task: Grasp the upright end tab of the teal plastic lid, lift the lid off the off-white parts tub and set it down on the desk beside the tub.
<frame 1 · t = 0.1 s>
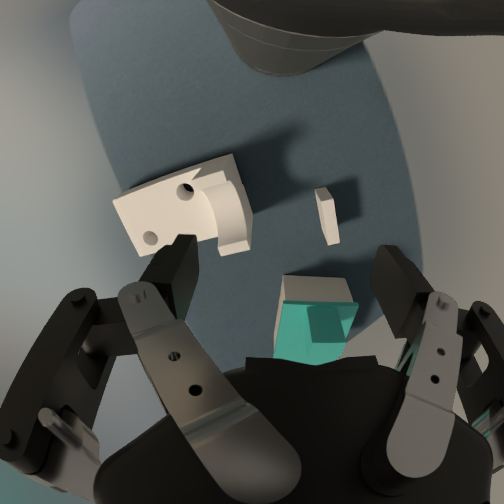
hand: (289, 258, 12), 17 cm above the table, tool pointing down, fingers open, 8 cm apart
eraser: (323, 207, 29), on the table
tub: (307, 308, 36), on the table
lid: (311, 336, 32), point 5 cm above the table, touching tub
bracket: (186, 199, 29), on the table
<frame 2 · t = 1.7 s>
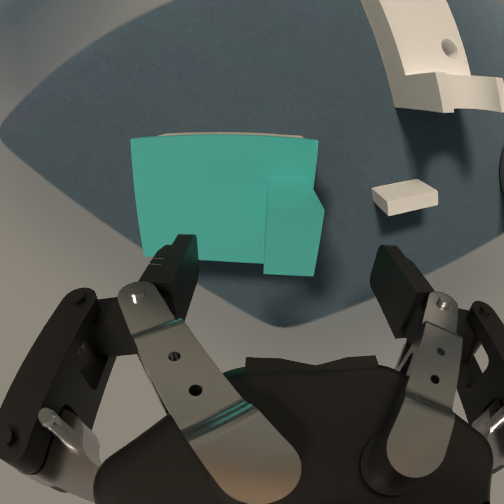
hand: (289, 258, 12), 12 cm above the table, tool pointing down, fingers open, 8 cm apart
eraser: (394, 188, 22), on the table
lid: (220, 199, 18), point 5 cm above the table, touching tub
bracket: (406, 37, 14), on the table
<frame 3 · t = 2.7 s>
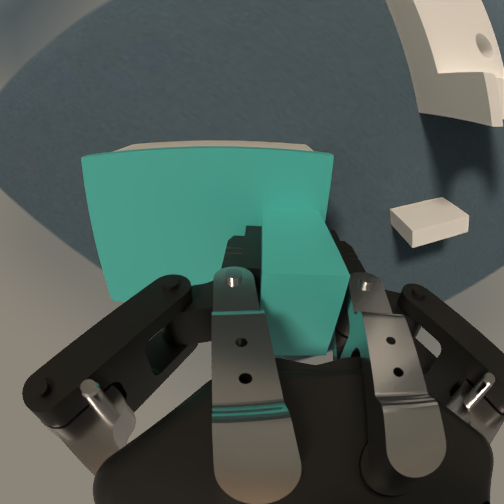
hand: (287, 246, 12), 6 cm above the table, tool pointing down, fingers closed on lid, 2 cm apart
eraser: (416, 208, 17), on the table
tub: (215, 201, 18), on the table
lid: (199, 234, 13), point 5 cm above the table, touching gripper, tub
bracket: (431, 28, 10), on the table
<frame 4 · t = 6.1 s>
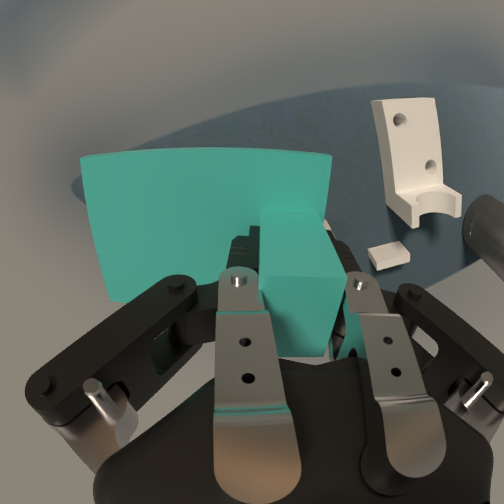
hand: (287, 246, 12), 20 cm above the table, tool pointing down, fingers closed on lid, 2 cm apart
eraser: (383, 247, 34), on the table
lid: (198, 236, 13), point 19 cm above the table, touching gripper
bracket: (403, 149, 28), on the table
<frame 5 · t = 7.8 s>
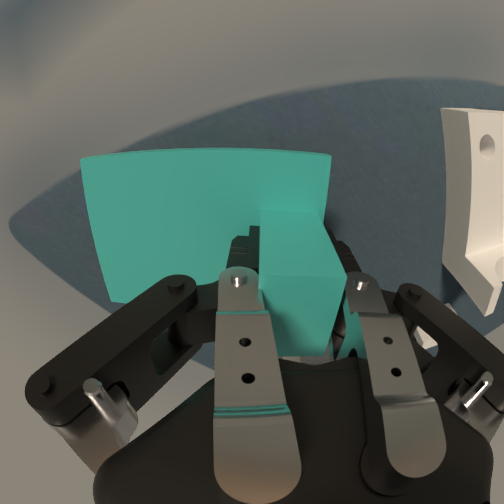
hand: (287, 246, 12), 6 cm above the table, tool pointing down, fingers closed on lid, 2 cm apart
eraser: (428, 312, 23), on the table
lid: (198, 236, 13), point 5 cm above the table, touching gripper
bracket: (472, 185, 16), on the table
block a: (318, 325, 22), point 1 cm above the table, touching tub
when the fingers open (2 cm above the table, at t = 9.2 s): lid drops 2 cm, on the table.
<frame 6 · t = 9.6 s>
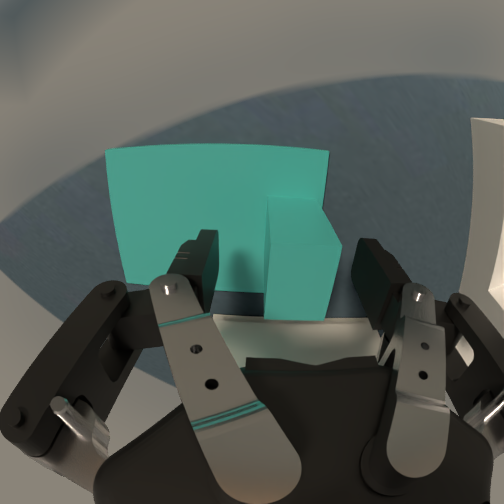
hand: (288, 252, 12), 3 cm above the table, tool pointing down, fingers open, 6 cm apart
eraser: (442, 338, 19), on the table
tub: (289, 355, 20), on the table
lid: (211, 220, 15), on the table
bracket: (497, 206, 13), on the table
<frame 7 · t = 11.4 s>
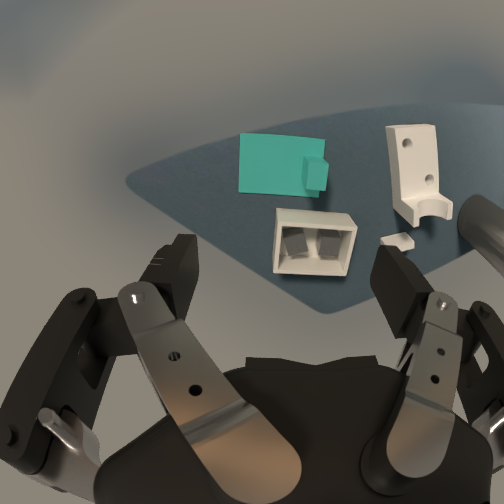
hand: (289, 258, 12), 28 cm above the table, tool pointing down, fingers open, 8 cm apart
eraser: (392, 237, 41), on the table
tub: (309, 234, 42), on the table
lid: (281, 164, 37), on the table
block b: (294, 235, 41), point 1 cm above the table, touching tub
bracket: (408, 165, 35), on the table
block a: (326, 237, 41), point 1 cm above the table, touching tub
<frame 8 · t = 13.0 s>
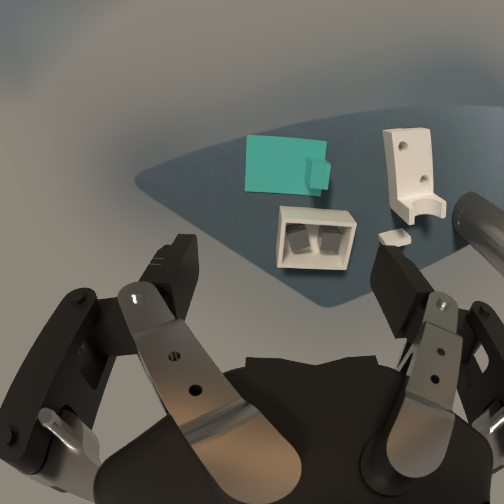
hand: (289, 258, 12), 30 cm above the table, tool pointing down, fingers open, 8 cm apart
eraser: (390, 233, 44), on the table
tub: (311, 231, 44), on the table
lid: (285, 165, 39), on the table
block b: (296, 231, 43), point 1 cm above the table, touching tub
bracket: (404, 166, 38), on the table
block a: (326, 233, 43), point 1 cm above the table, touching tub
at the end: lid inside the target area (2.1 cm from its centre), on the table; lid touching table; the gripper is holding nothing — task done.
